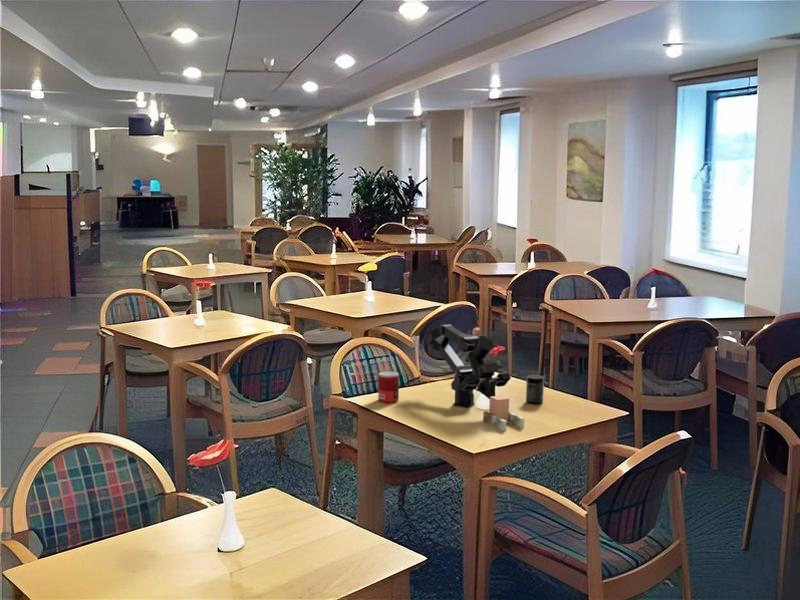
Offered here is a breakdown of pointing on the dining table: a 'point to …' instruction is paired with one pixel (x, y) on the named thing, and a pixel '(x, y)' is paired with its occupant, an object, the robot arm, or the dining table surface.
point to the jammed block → (499, 407)
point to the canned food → (388, 387)
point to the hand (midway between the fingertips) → (494, 401)
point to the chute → (501, 422)
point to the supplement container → (534, 389)
